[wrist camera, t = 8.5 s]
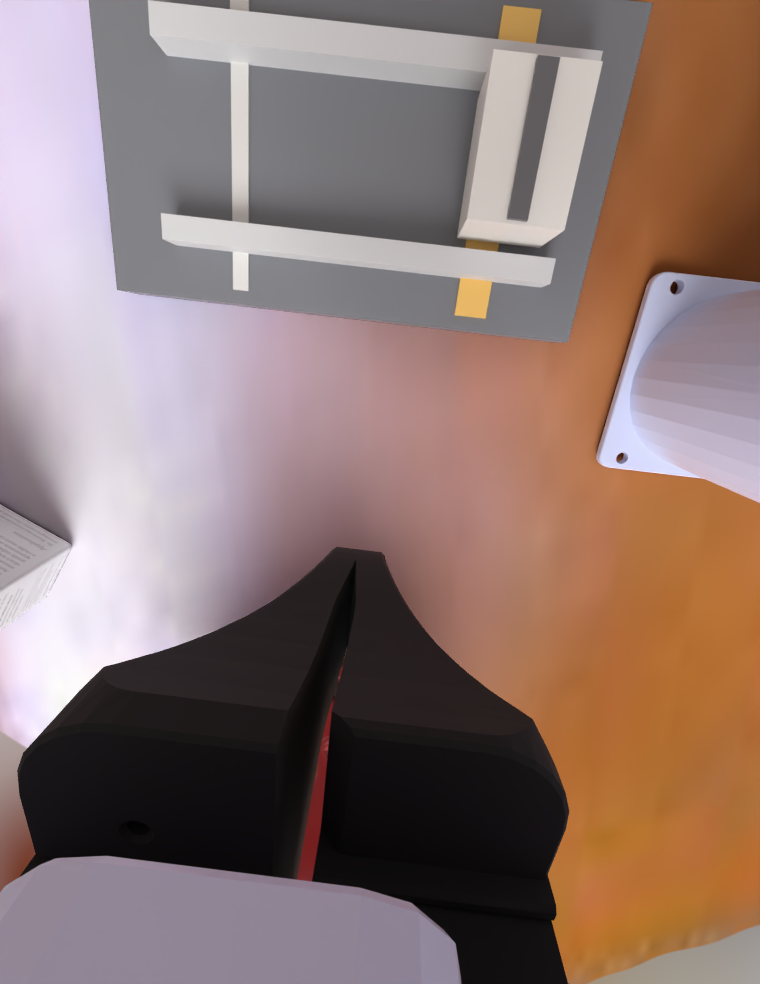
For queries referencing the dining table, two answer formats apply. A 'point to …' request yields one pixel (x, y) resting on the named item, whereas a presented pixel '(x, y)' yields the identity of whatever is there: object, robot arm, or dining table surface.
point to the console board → (341, 154)
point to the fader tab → (526, 147)
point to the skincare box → (26, 564)
